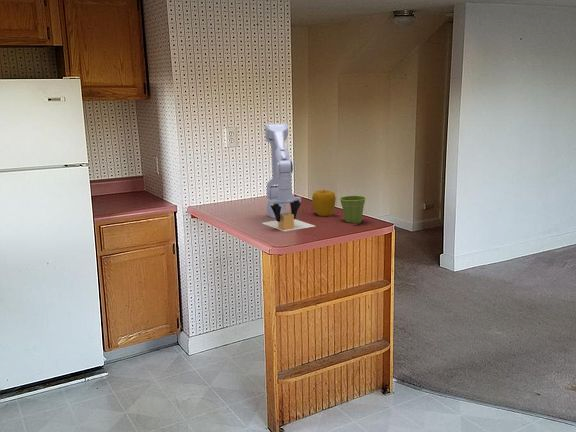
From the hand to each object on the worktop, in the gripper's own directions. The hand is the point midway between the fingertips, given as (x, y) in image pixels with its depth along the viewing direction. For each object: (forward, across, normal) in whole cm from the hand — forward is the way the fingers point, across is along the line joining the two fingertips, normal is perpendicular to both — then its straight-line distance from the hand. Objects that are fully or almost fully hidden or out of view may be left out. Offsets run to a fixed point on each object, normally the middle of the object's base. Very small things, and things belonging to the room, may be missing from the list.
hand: (285, 220), depth 245 cm
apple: (+5, +28, +12) cm, 31 cm away
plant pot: (+5, +31, -6) cm, 32 cm away
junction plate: (+4, +4, +5) cm, 8 cm away
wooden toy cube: (+3, 0, 0) cm, 3 cm away
